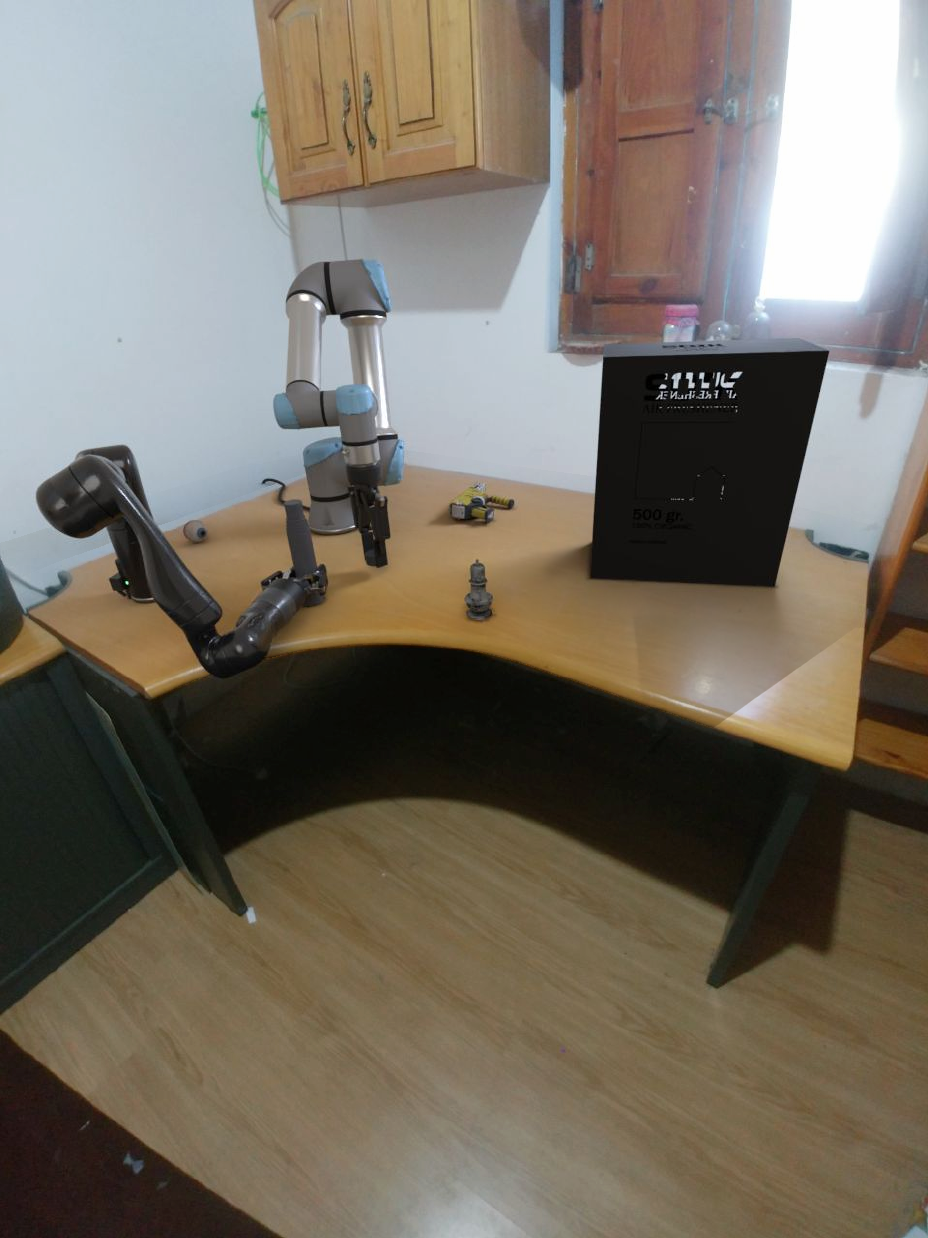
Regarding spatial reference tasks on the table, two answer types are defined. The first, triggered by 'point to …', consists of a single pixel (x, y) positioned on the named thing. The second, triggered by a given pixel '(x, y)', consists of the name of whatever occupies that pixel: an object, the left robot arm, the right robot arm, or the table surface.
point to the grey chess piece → (478, 594)
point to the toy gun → (476, 504)
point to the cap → (370, 558)
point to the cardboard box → (701, 458)
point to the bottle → (301, 545)
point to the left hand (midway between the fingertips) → (311, 567)
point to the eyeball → (195, 531)
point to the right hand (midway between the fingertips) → (376, 562)
